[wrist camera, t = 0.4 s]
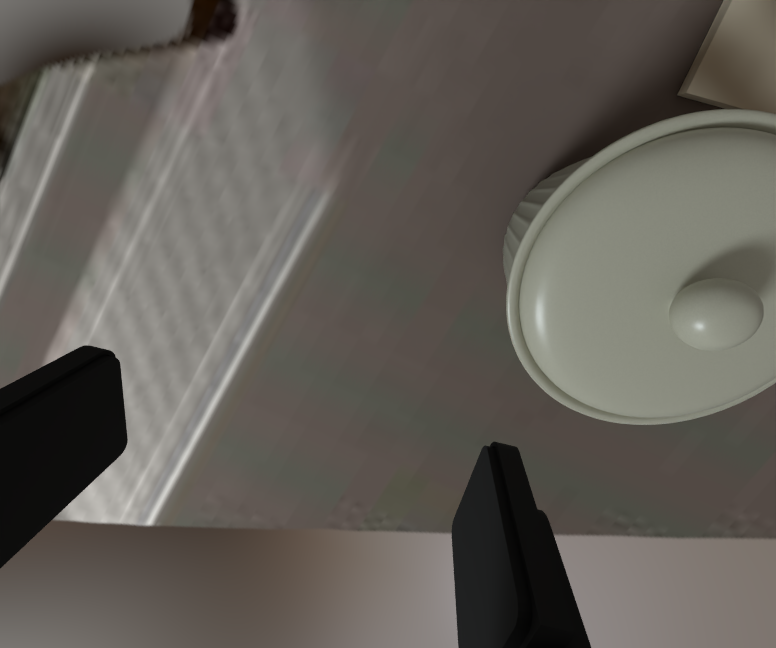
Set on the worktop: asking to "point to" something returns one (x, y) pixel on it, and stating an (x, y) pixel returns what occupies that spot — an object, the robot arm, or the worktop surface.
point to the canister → (652, 271)
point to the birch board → (737, 59)
